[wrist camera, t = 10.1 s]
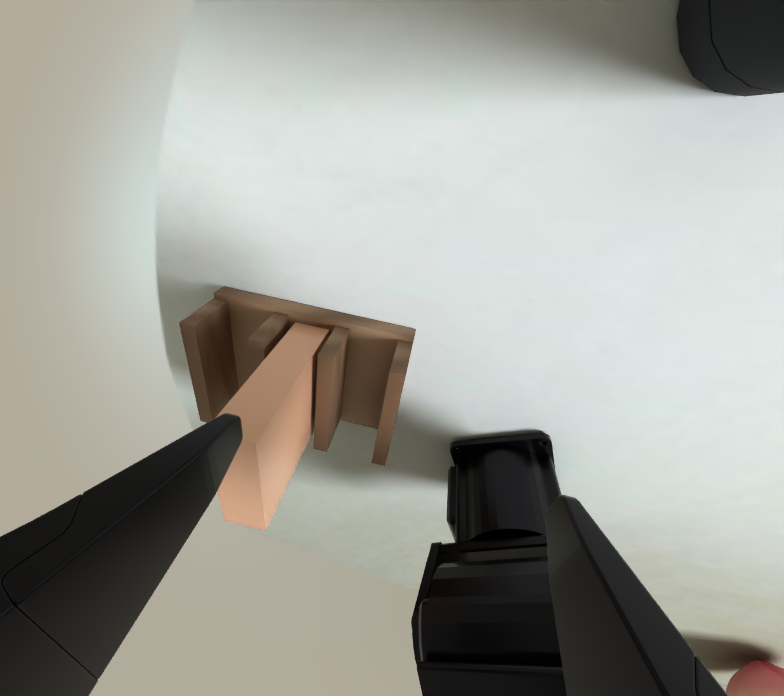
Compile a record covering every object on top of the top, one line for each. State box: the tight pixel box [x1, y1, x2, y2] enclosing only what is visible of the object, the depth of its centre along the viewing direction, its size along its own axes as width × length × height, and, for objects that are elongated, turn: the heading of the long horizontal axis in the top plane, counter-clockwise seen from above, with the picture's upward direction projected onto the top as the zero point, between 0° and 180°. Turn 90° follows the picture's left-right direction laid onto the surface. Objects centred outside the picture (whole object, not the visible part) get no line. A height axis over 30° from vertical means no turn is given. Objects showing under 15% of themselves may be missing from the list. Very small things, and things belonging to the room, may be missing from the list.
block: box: [216, 322, 329, 531], centre depth 18 cm, size 2×6×8 cm, turn 172°
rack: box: [179, 287, 416, 466], centre depth 21 cm, size 12×8×4 cm, turn 81°
